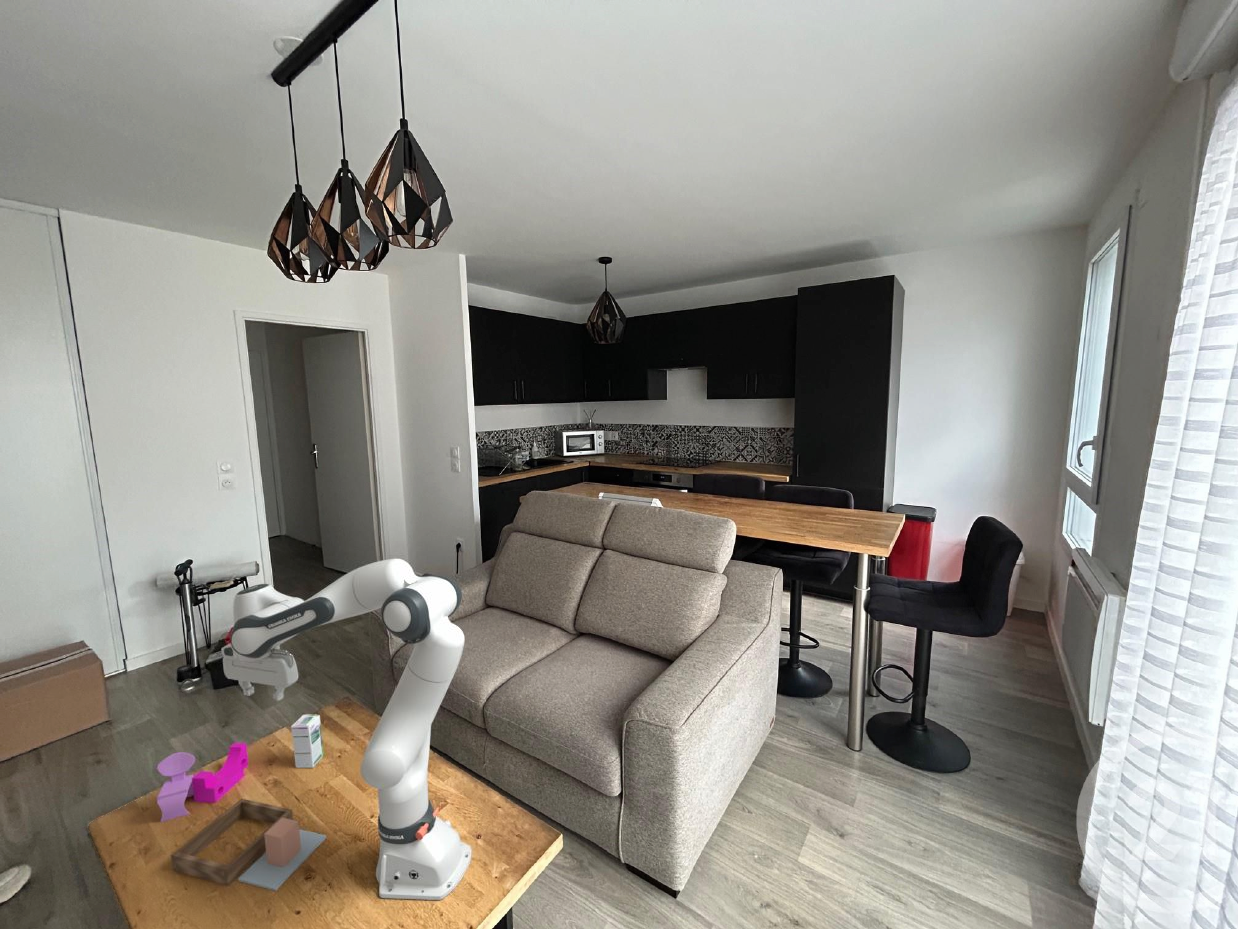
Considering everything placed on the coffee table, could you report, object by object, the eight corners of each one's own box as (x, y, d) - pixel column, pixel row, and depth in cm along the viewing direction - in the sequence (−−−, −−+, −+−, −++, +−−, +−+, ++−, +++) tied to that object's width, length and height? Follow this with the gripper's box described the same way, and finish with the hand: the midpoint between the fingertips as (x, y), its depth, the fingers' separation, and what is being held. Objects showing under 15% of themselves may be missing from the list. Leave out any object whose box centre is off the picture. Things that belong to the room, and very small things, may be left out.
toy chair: (154, 825, 137) (147, 774, 135) (166, 802, 145) (159, 754, 143) (193, 814, 141) (187, 764, 139) (202, 792, 148) (196, 745, 146)
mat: (326, 838, 133) (326, 835, 133) (275, 892, 118) (275, 889, 118) (291, 830, 135) (291, 827, 135) (238, 881, 121) (237, 878, 121)
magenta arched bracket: (215, 803, 145) (212, 779, 144) (194, 802, 145) (191, 778, 144) (256, 765, 159) (253, 743, 158) (237, 764, 160) (234, 742, 159)
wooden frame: (293, 824, 137) (292, 809, 136) (228, 886, 120) (226, 869, 119) (243, 813, 141) (241, 798, 140) (173, 871, 123) (171, 855, 123)
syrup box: (313, 768, 158) (309, 725, 156) (294, 768, 158) (290, 725, 156) (324, 755, 164) (320, 714, 162) (306, 755, 164) (302, 713, 162)
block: (301, 849, 128) (298, 821, 127) (283, 867, 124) (280, 838, 123) (284, 845, 130) (282, 817, 129) (267, 863, 125) (264, 834, 124)
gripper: (302, 645, 131) (306, 695, 133) (239, 637, 136) (244, 685, 138) (281, 657, 125) (285, 709, 127) (215, 648, 130) (221, 698, 131)
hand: (263, 696), depth 132 cm, fingers open, 8 cm apart
